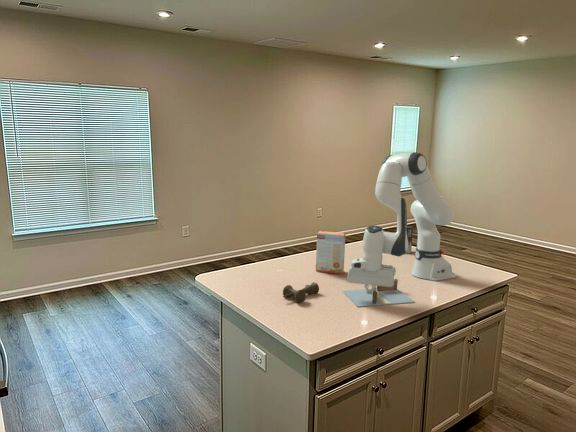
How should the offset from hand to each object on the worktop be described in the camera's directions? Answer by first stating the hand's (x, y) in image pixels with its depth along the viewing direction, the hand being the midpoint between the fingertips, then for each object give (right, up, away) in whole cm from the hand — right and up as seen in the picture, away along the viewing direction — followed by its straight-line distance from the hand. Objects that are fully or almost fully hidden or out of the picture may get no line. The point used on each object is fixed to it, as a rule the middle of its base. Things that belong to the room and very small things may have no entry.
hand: (369, 293), depth 192 cm
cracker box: (-14, +5, +38) cm, 41 cm away
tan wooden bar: (+3, -2, +3) cm, 4 cm away
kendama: (-30, -2, +2) cm, 31 cm away
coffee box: (+36, +12, +79) cm, 87 cm away
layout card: (+5, -2, +5) cm, 7 cm away
